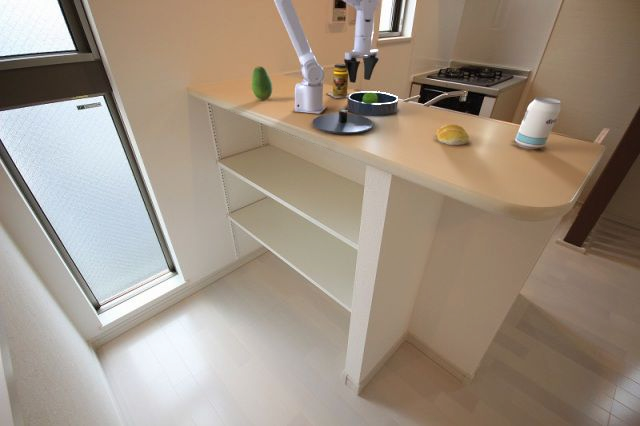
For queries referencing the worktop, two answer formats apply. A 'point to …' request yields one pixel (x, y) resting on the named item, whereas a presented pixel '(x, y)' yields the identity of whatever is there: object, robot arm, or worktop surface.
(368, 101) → the lime
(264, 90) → the fruit
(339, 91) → the condiment
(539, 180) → the worktop surface
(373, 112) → the pot
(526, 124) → the beverage can
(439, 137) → the bread roll
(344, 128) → the lid
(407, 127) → the worktop surface
